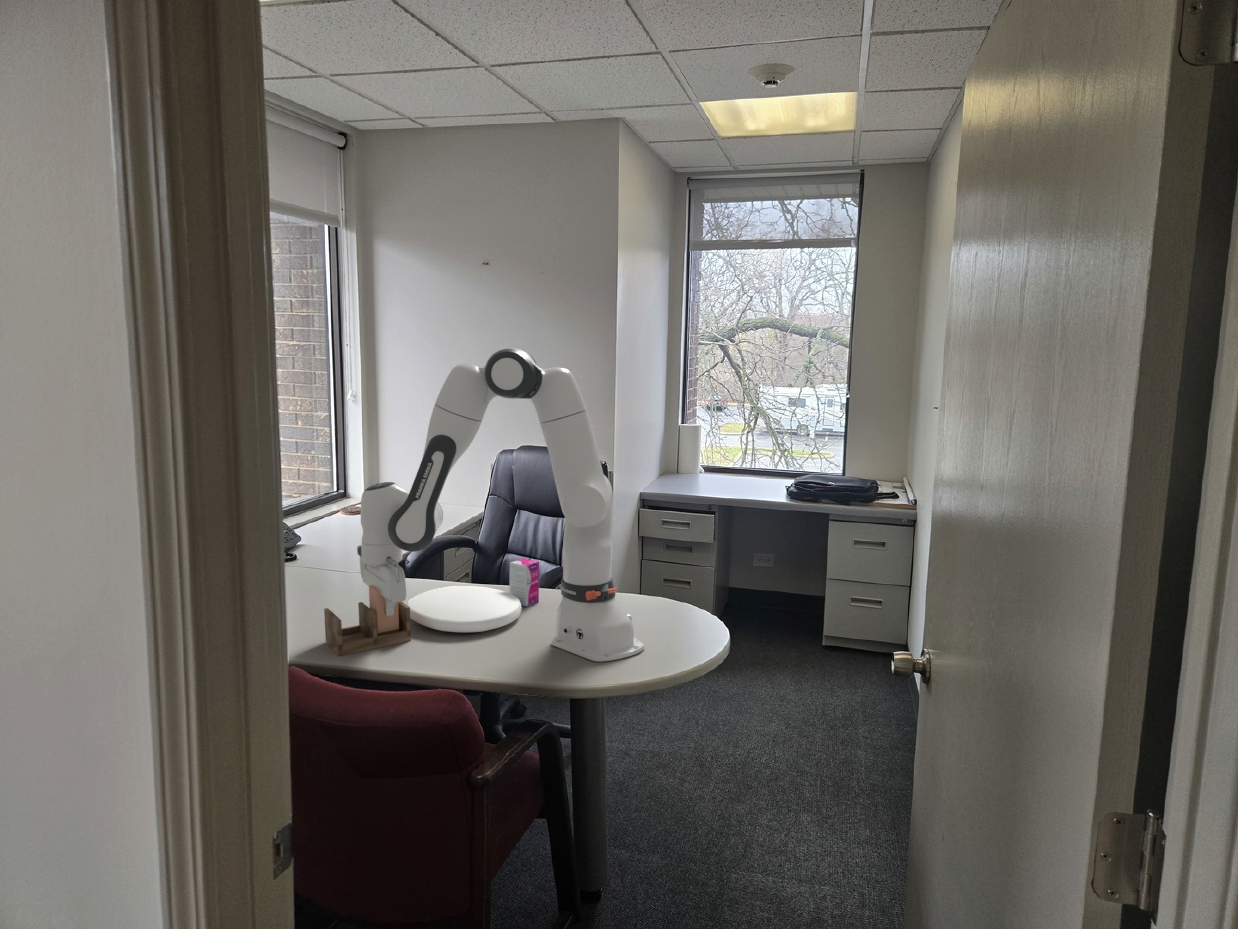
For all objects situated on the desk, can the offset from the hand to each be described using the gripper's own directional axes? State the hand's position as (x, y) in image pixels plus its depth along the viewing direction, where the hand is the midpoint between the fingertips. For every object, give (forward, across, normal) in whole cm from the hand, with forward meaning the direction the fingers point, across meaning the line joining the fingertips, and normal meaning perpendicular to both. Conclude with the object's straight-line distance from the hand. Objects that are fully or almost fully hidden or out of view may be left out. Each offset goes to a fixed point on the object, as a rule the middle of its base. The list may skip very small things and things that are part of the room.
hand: (384, 610), depth 189 cm
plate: (+7, +2, -21) cm, 22 cm away
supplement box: (+7, +4, -39) cm, 40 cm away
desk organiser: (+7, 0, +4) cm, 8 cm away
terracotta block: (+4, 0, 0) cm, 4 cm away
